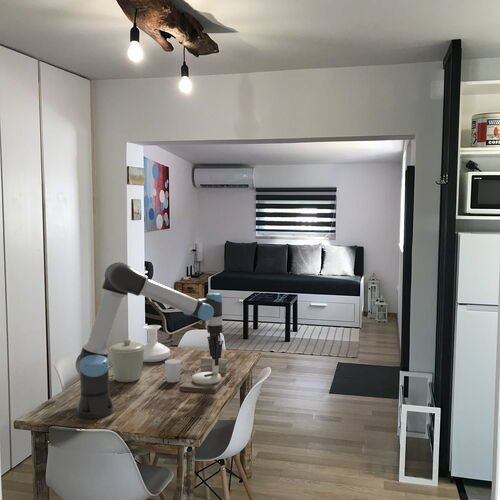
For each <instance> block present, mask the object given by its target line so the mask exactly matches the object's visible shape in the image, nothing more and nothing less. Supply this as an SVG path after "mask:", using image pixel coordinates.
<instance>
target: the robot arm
mask: <svg viewBox="0 0 500 500" xmlns="http://www.w3.org/2000/svg"><path fill="white" fill-rule="evenodd" d="M101 290H102V292H103V295H102V298H101V301H100V304H99V307H98V310H97V314H96V315H95V316H96V317H95V319H94V322H93V326H92V329H91V332H90V334H89V338H88V340H87V344H84V345H82V349H81V352H80V354H78V356H77V359H75V360H76V361H75V371H76V372H77V374H78V376H79V379H80V380H79V381H80V382H79V385H80V387H79V388H80V397H79V401H78V404H77V407H76V415H78V416H77V417H78V418H81V419H84V420H85V419H86V420H87V419H88V420H89V419H90V420H93V419H100V418H104V417H107V416H109V415H111V414H113V413H114V410H115V409H114V407H115V406H114V403H113V400H112V398H111V395H110V384H109V383H110V381H109V380H110V379H109V377H110V376H109V375H110V374H109V367H110V365H109V359H108V355H109V350H108V349H107V347H108V345H109V341H110V338H111V335H112V331H113V329H114V325H115V323H116V319H117V317H118V313H119V310H120V308H121V304H122V301H123V298H125V297H126V296H128V294H132V295H134V296H137V297H139V296H143V297H146V298H148V299H151V300H152V301H153V300H154V301H156V302H158V303H161V304H164V305H166V306H169V307H171V308H173V309H176V310H178V311H181V312H183V314H184V315H186V316H192V317H195V318H198V319H200V320H202V321H206V324H207V326H206V328H207V329H206V331H207V333H208V334H209V336H207V337H206V338H207V343H208V349H209V357H211V358H213V359H212V363H213V372H219V359H222V354H223V353H222V352H223V351H222V350H223V344H224V340H222V339H221V333H223V331H224V330H223V318H224V317H223V296H222V294H221V293H219V292H210V293H207V294H206V296H205V297H202V298H201V297H199V298H194V297H192V296H190V295H187V294H185V293H182V292H181V291H178V290H176V289H173V288H171V287H169V286H167V285H166V286H165V285H164V284H161V283H159V282H156V281H154V280H151V279H149V278H148V276H147V275H145V274H144V273H141V272H139V271H137V270H136V269H135V268H133V267H132V266H130V265H128V264H127V263H124V262H114V263H111V264H110V265H109V266H108V267H107V268H106V269H105V271H104V280H103V283H102V287H101Z"/></svg>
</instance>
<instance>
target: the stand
mask: <svg viewBox="0 0 500 500" xmlns="http://www.w3.org/2000/svg"><path fill="white" fill-rule="evenodd" d="M212 359H213V358H212V357H202V356H201V357H200V369H197V370H196V371H195V372H194V373H193V374H192V375H191V376H190V377H188V378H187V379H185V381H184V382H182V383H181V384H180V385H179V389H178V390H179V391H183V392H192V393H193V392H194V393H203V394H204V393H206V394H207V393H208V394H216V393H217V392H218V391H219V390H220V389H221V387H223V385H225V383H226V382H227V381H228V380H229V379H230V378H231V376H232V372H231V371H228V359H227V358H219V372H218V374H220V375H221V381H220V382H218V383H215V384H210V385H201V384H196V383H194V382H193V381H192V376H193V375H194V374H196V373H200V372H212Z"/></svg>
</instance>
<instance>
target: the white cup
mask: <svg viewBox="0 0 500 500" xmlns="http://www.w3.org/2000/svg"><path fill="white" fill-rule="evenodd" d="M181 363H182V362H181V359H177V358H172V359H167V360H166V359H165V360H164V367H165V369H164V370H165V376H166V377H165V378H166V380H165V381H166V382H167V383H171V384H172V383H178V382H180V381H181V369H182V368H181V366H182V364H181Z"/></svg>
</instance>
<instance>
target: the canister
mask: <svg viewBox="0 0 500 500" xmlns="http://www.w3.org/2000/svg"><path fill="white" fill-rule="evenodd" d="M144 345H145V344H142V343H141V342H134V341H131V339H130V338H125V339H123V342H120V343H116V344H113V345H112V346H110V347H109V348H108V352H110V353H109V354H110V358H111V366H112V371H113V377H114V380H115V381H117V382H118V383H119V382H120V383H133V382H136V381H137V380H139V379H140V378H141V377H142V374H143V365H144V364H143V363H144V362H143V356H144V349H145V346H144Z"/></svg>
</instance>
